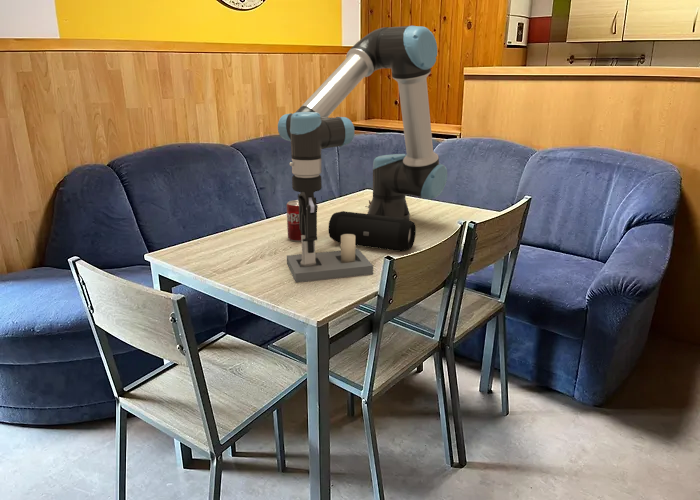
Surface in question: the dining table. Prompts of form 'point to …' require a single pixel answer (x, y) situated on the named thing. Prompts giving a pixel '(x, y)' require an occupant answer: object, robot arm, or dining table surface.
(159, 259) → the dining table surface
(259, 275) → the dining table surface
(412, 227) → the portable speaker
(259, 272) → the dining table surface
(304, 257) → the rook chess piece
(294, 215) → the soda can
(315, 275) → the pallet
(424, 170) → the robot arm
